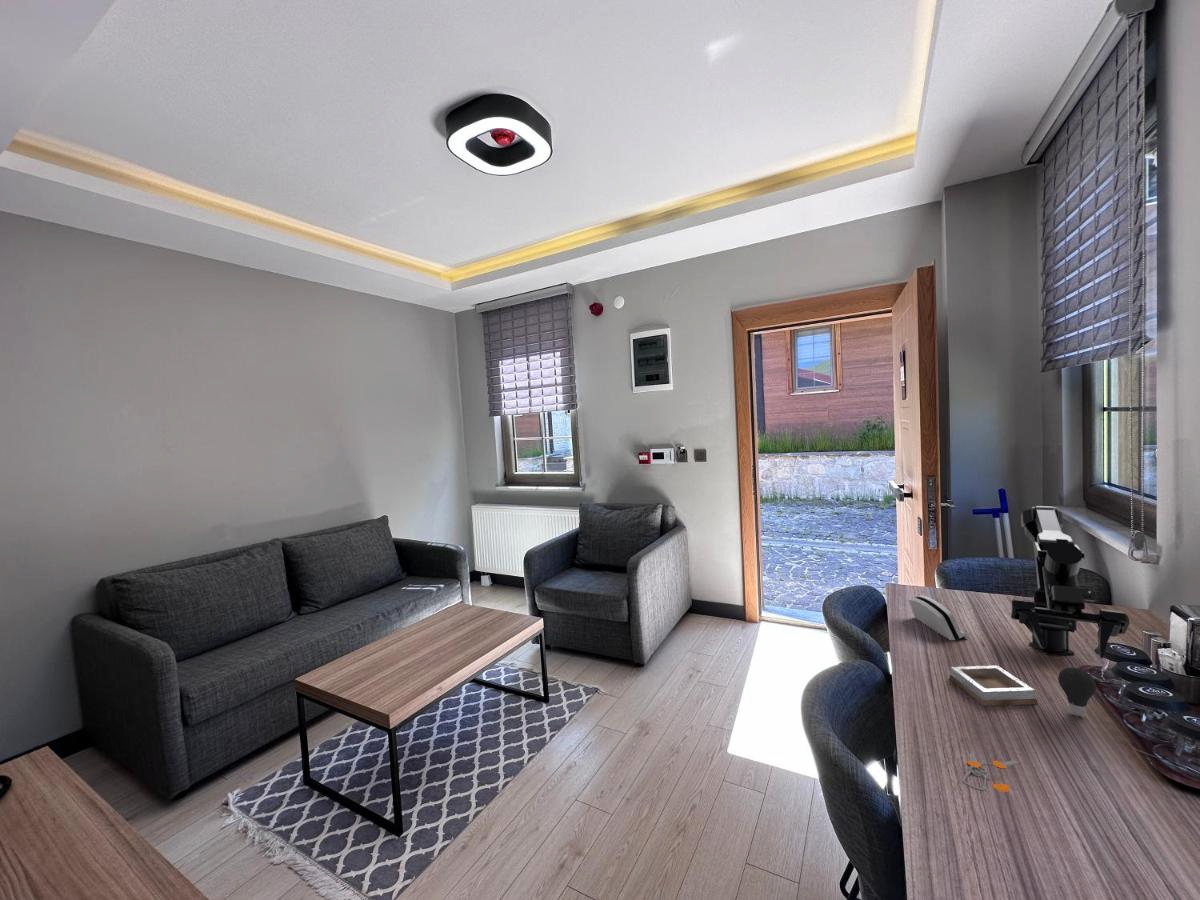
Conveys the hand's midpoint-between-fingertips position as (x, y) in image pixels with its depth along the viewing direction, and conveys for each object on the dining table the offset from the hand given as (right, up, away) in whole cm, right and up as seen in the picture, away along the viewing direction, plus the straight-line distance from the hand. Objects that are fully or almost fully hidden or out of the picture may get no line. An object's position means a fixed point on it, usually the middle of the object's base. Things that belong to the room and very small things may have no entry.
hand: (1071, 652), depth 104 cm
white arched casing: (-2, -10, +40) cm, 41 cm away
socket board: (-11, -12, +7) cm, 18 cm away
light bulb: (-2, -12, -3) cm, 12 cm away
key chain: (-31, -15, -17) cm, 38 cm away
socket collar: (-11, -12, +7) cm, 18 cm away
